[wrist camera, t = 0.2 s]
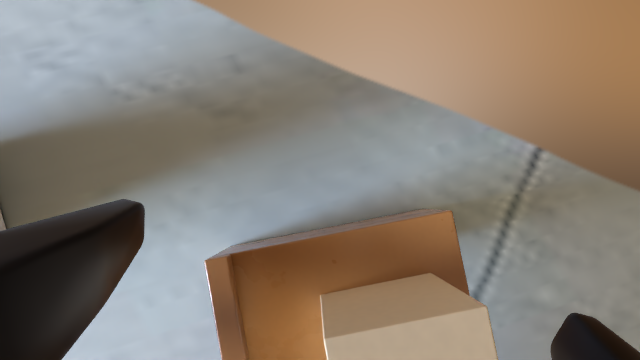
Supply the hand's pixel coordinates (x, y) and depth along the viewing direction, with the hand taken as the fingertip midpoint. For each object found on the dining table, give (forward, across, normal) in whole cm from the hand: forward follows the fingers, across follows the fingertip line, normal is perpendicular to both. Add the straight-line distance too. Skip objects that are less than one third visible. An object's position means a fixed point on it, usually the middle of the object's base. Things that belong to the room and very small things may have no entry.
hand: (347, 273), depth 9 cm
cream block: (+7, -3, +8) cm, 11 cm away
